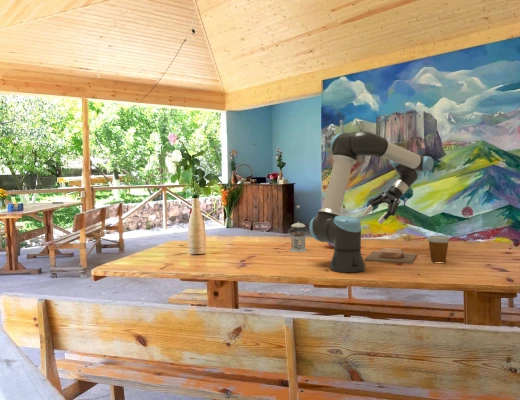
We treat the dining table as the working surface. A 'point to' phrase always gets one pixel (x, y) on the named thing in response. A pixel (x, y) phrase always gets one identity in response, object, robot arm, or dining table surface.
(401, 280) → the dining table surface
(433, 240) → the disposable coffee cup
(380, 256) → the pedestal
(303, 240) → the french press
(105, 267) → the dining table surface
